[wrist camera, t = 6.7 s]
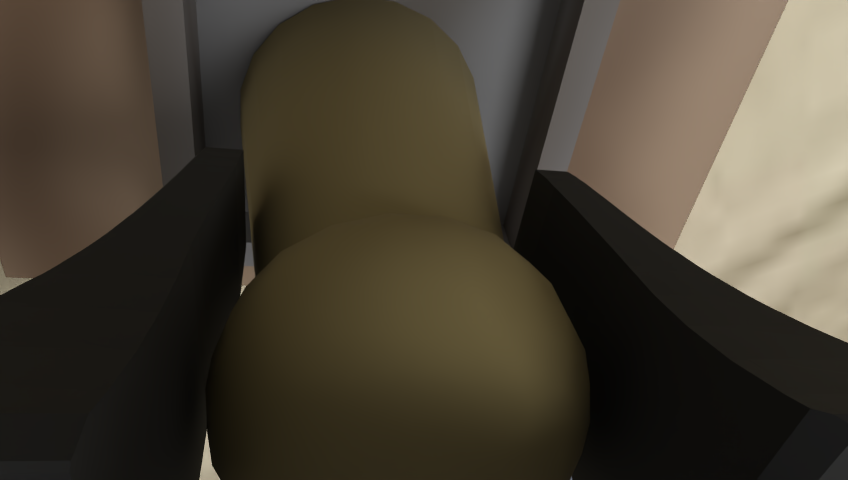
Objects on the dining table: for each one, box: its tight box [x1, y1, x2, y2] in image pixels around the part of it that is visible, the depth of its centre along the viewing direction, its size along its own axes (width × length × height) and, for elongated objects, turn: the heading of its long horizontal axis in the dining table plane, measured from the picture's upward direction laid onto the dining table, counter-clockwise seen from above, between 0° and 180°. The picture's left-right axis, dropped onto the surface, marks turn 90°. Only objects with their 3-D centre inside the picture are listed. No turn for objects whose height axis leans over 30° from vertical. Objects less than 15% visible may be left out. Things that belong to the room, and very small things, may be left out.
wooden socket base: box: [0, 0, 788, 285], centre depth 16 cm, size 20×14×3 cm
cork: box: [205, 0, 590, 480], centre depth 12 cm, size 6×6×11 cm
